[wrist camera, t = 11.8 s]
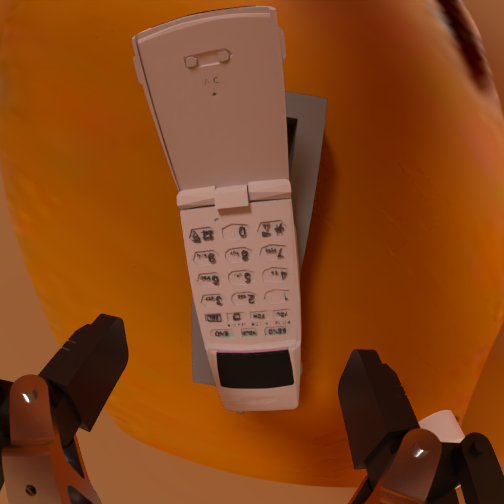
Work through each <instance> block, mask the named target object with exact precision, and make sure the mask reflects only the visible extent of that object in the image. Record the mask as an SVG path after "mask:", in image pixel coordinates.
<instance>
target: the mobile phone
mask: <svg viewBox="0 0 504 504" xmlns="http://www.w3.org/2000/svg"><path fill="white" fill-rule="evenodd" d="M279 33H280V34H279ZM132 44H133V48H134V52H135V56H134V58H133V62H134V66H135V70H136V73H137V77H138V80H139V83H140V84H143V88H144V92H145V95H146V98H147V101H148V104H149V108H150V111H151V114H152V117H153V120H154V123H155V126H156V129H157V132H158V135H159V138H160V141H161V144H162V147H163V150H164V152H165V155H166V158H167V161H168V164H169V167H170V169H171V172H172V175H173V178H174V181H175V183H176V186H177V189H178V191H179V193H178V195H177V207H178V208H179V209H181V210H180V215H181V223H182V230H183V237H184V244H185V251H186V257H187V264H188V270H189V276H190V282H191V287H192V293H193V298H194V303H195V307H196V312H197V316H198V321H199V325H200V329H201V333H202V337H203V341H204V345H205V349H206V353H207V356H208V360H209V363H210V367H211V370H212V374H213V377H214V380H215V384H216V387H217V390H218V392H219V395H220V398H221V401H222V403H223V406H224V408H225V409H226V410H229V411H236V412H237V413H239V414H243V413H245V411H269V410H287V409H295V408H297V407H298V404H299V393H300V376H301V374H302V372H303V367H302V362H301V337H302V318H301V295H300V275H299V260H298V247H297V235H296V228H295V225H294V219H293V209H292V200H291V184H290V182H289V168H288V143H287V122H286V104H285V89H284V75H283V59H285V58H286V47H285V38H284V31H283V29H282V28H279V27H278V19H277V13H276V9H275V8H274V7H270V6H244V7H234V8H226V9H218V10H212V11H206V12H200V13H196V14H191V15H187V16H184V17H180V18H177V19H174V20H171V21H168V22H165V23H162V24H159V25H157V26H154V27H151V28H149V29H147V30H145V31H143V32H141V33H139V34H137V35H135V36H134V38H133V39H132ZM282 58H283V59H282ZM172 166H173V167H172ZM173 169H174V171H173ZM174 172H175V174H174ZM175 175H176V177H175ZM176 178H177V180H176ZM177 181H178V183H177ZM178 184H179V186H178ZM179 187H180V189H179Z"/></svg>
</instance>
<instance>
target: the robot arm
mask: <svg viewBox="0 0 504 504" xmlns="http://www.w3.org/2000/svg"><path fill="white" fill-rule="evenodd" d="M128 354H129V353H128V346H127V341H126V335H125V329H124V323H123V320H122V319H121V318H119V317H115V316H111V315H107V314H100V315H99V316H98V317H97V318H96V320H95V321H94V322H93V323H92V324H87V325H85V326H83V327H81V328H80V329H78V330H76V331H75V332H74V334H73V335H72V336H71V337H70V338H69V341H66V343H65V344H64V345H63V346H62V348H60V350H59V351H58V352H57V353H56V354H55V356H54V357H53V358H52V359H51V360H50V361H49V363H48V364H47V365H46V366H45V368H44V369H43V370H42V371H41V372H40V374H39V375H38V376H37V375H24V376H22V377H20V378H18V379H17V380H16V381H15V382H10V381H6V380H1V379H0V490H1V488H2V486H3V483H4V481H5V486H6V492H7V497H8V502H9V504H102V502H101V500H100V498H99V497H98V495H97V493H96V491H95V490H94V488H93V486H92V485H91V483H90V480H89V477H88V474H87V471H86V468H85V465H84V461H83V458H82V455H81V451H80V447H79V444H78V439H77V436H76V432H77V430H78V428H81V429H84V430H86V431H88V432H90V431H91V429H92V427H93V425H94V424H95V422H96V420H97V418H98V416H99V414H100V412H101V410H102V408H103V407H104V405H105V403H106V401H107V399H108V397H109V396H110V394H111V392H112V390H113V388H114V387H115V385H116V383H117V381H118V379H119V378H120V376H121V374H122V372H123V371H124V369H125V367H126V365H127V362H128ZM338 396H339V400H340V404H341V409H342V413H343V418H344V422H345V427H346V431H347V436H348V440H349V445H350V450H351V455H352V460H353V465H354V470H358V469H365V468H366V469H367V474H368V475H366V476H365V478H364V479H363V481H362V483H361V484H360V486H359V488H358V489H357V491H356V492H355V494H354V495H353V497H352V499H351V500H350V502H349V503H348V504H459V501H458V498H457V494H456V490H455V488H456V487H458V486H459V485H461V488H462V492H463V496H464V499H465V503H466V504H504V475H503V473H502V470H501V467H500V465H499V462H498V460H497V457H496V455H495V452H494V450H493V448H492V445H491V443H490V441H489V440H488V439H487V438H486V437H485V436H484V435H482V434H480V433H476V432H475V433H470V434H468V435H467V436H466V437H465V438H464V439H463V440H462V441H461V442H460V443H454V442H440V440H439V438H438V437H437V436H436V435H435V434H434V433H433V432H431V431H429V430H427V429H422V428H420V426H419V423H418V421H417V419H416V416H415V414H414V412H413V409H412V407H411V405H410V402H409V400H408V398H407V396H406V395H405V391H404V389H403V387H402V386H401V383H400V381H399V379H398V376H397V374H396V373H395V372H394V371H393V370H392V369H391V368H390V367H389V366H388V365H387V364H382V362H381V360H380V358H379V356H378V354H377V352H376V351H375V350H361V349H355V350H353V351H352V353H351V355H350V358H349V360H348V362H347V365H346V367H345V369H344V372H343V374H342V376H341V378H340V381H339V386H338Z"/></svg>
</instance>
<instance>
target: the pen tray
mask: <svg viewBox="0 0 504 504" xmlns="http://www.w3.org/2000/svg"><path fill="white" fill-rule="evenodd" d="M285 104H286V122H287V143H288V168H289V182H290V184H291V200H292V209H293V219H294V225H295V228H296V235H297V247H298V260H299V275H301V270H302V265H303V260H304V254H305V249H306V244H307V238H308V233H309V227H310V221H311V215H312V209H313V203H314V197H315V191H316V184H317V178H318V171H319V164H320V157H321V149H322V142H323V134H324V126H325V117H326V108H327V99H326V98H321V97H316V96H311V95H305V94H299V93H293V92H286V91H285ZM192 376H193V382H197V383H202V384H208V385H215V386H216V384H215V380H214V377H213V374H212V370H211V367H210V363H209V360H208V356H207V353H206V349H205V345H204V341H203V337H202V333H201V329H200V325H199V321H198V316H197V312H196V307H195V303H194V298H193V304H192Z"/></svg>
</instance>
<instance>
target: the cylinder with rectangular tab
mask: <svg viewBox="0 0 504 504" xmlns="http://www.w3.org/2000/svg"><path fill="white" fill-rule="evenodd" d="M418 423H419V426H420V428H422V429H427V430H429V431H431V432H433V433H434V434H435V435H436V436H437V437H438V438H439V440H440V442H454V443H460V442H461V441H462V440H463V439H464V438H465V436H464V434H463V432H462V430H461V428H460V426H459V424H458V422H457V420H456V419H455V417H454V415H453V413H452V412H451V411H450V410H443V411H439V412H436V413H434V414H432V415H430V416H428V417H426V418H424V419H423V420H421V421H419V422H418ZM459 486H461V485H459ZM459 486H458V487H459ZM458 487H456V488H458ZM456 488H455V489H456Z"/></svg>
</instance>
